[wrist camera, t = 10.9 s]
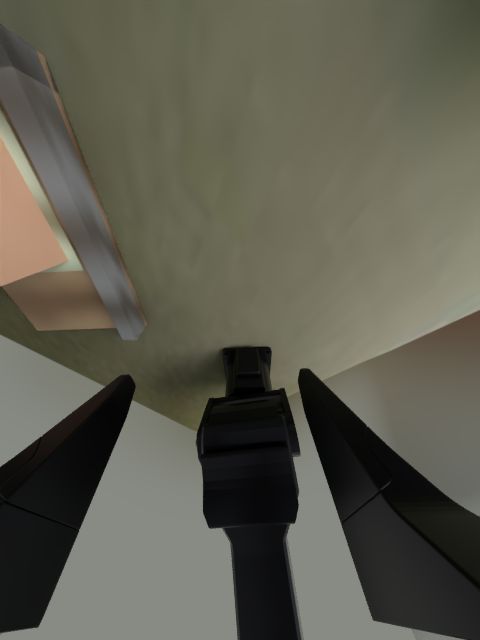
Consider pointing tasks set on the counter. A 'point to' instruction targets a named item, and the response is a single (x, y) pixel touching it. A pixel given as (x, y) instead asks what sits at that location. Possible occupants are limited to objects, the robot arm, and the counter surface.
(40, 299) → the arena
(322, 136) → the counter surface
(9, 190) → the terracotta block
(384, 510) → the robot arm
